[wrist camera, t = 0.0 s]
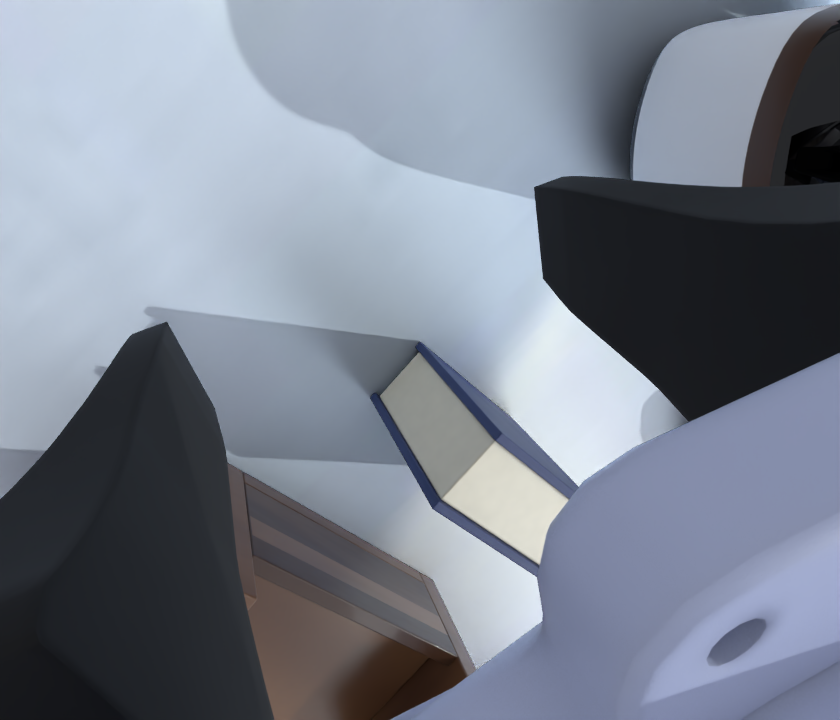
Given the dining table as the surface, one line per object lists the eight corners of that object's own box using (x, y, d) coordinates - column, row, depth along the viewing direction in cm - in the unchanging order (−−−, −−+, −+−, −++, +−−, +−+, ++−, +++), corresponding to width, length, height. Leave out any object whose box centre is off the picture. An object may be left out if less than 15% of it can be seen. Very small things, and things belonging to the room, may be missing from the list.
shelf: (343, 676, 30) (381, 826, 24) (114, 581, 24) (85, 747, 18) (433, 579, 29) (495, 708, 23) (221, 458, 23) (230, 587, 17)
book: (467, 468, 27) (551, 586, 21) (369, 397, 24) (432, 508, 18) (512, 418, 27) (613, 522, 21) (420, 341, 24) (501, 432, 18)
